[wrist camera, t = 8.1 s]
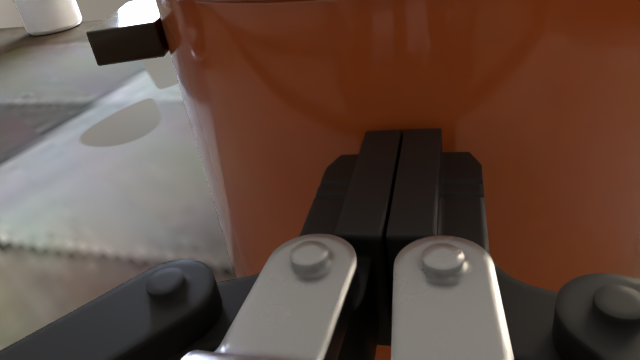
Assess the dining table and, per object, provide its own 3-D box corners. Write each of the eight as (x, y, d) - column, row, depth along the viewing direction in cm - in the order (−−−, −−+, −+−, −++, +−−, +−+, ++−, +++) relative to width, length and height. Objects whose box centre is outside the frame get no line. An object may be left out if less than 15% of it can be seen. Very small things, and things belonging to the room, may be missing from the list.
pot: (127, 416, 14) (-113, -48, 8) (217, 154, 28) (148, -98, 22) (854, 341, 13) (1170, -258, 7) (582, 105, 26) (616, -175, 21)
